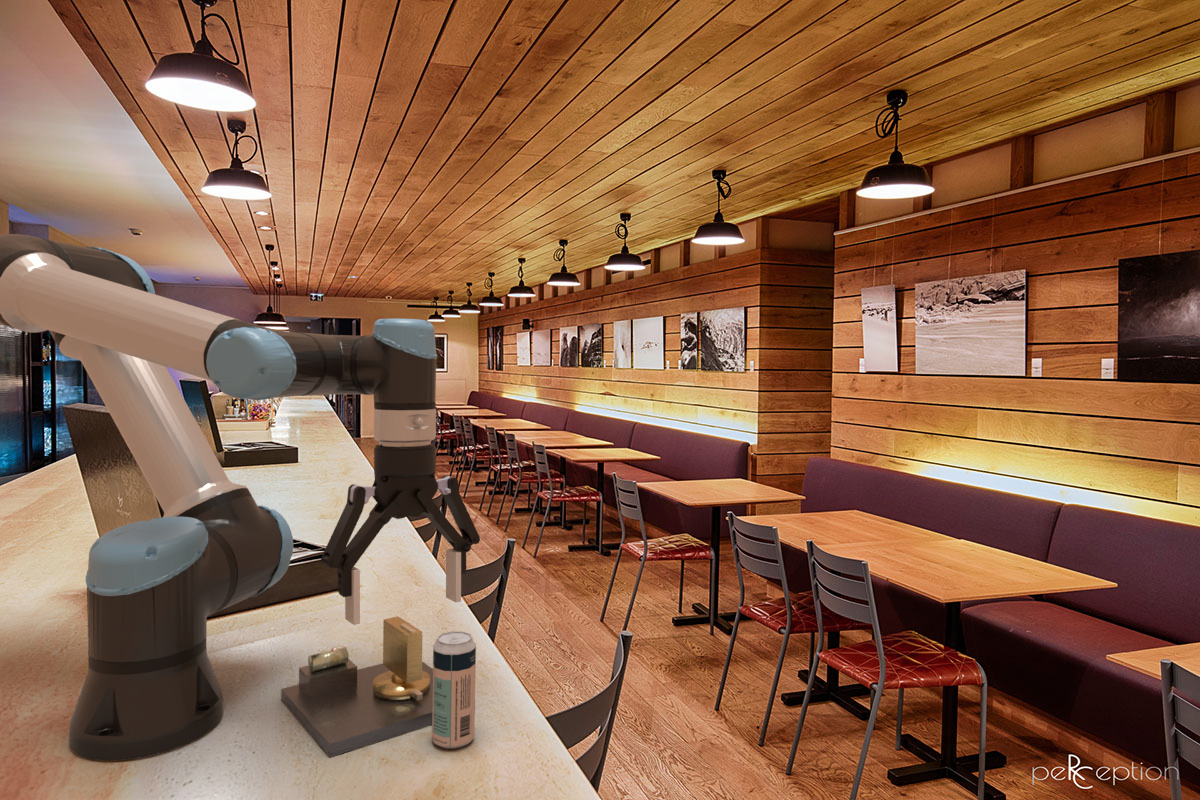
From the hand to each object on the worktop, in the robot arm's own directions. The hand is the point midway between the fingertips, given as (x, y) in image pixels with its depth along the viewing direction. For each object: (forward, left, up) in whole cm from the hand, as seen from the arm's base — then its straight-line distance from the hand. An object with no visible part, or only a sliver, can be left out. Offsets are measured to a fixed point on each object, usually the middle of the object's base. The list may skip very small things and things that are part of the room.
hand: (405, 610), depth 93 cm
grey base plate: (-3, +1, -12) cm, 12 cm away
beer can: (0, -13, -12) cm, 17 cm away
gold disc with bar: (0, 0, -10) cm, 10 cm away
